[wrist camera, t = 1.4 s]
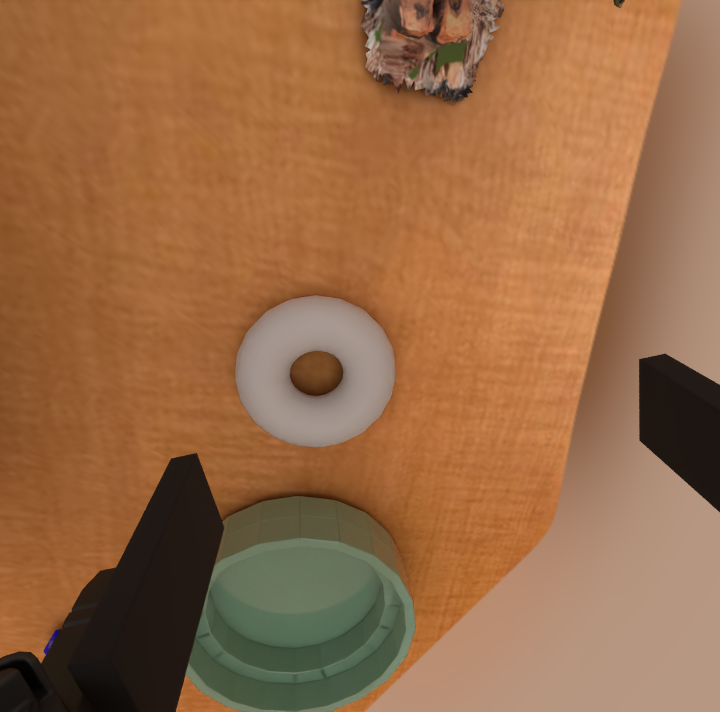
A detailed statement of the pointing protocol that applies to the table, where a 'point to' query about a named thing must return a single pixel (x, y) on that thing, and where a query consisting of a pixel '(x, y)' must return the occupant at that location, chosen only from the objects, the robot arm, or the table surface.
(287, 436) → the donut
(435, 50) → the stacked rock sculpture
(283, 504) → the green ribbed bowl
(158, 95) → the table surface
